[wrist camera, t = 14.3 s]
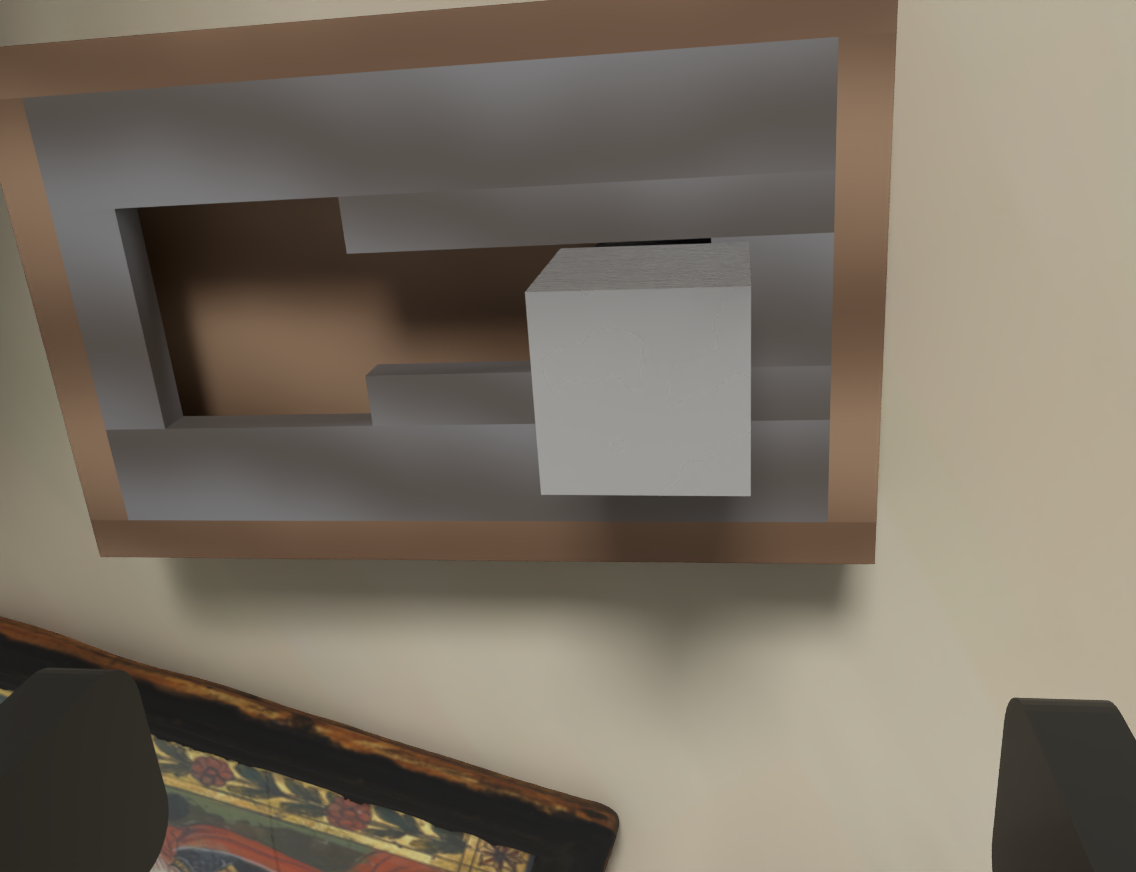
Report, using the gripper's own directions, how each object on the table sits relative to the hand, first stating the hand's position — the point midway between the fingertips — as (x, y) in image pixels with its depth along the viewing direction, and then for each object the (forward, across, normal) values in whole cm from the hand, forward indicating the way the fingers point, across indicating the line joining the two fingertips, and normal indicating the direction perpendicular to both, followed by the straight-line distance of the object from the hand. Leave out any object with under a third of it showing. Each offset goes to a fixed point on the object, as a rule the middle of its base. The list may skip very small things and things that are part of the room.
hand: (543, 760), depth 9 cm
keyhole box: (+21, +6, 0) cm, 21 cm away
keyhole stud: (+20, 0, 0) cm, 20 cm away
